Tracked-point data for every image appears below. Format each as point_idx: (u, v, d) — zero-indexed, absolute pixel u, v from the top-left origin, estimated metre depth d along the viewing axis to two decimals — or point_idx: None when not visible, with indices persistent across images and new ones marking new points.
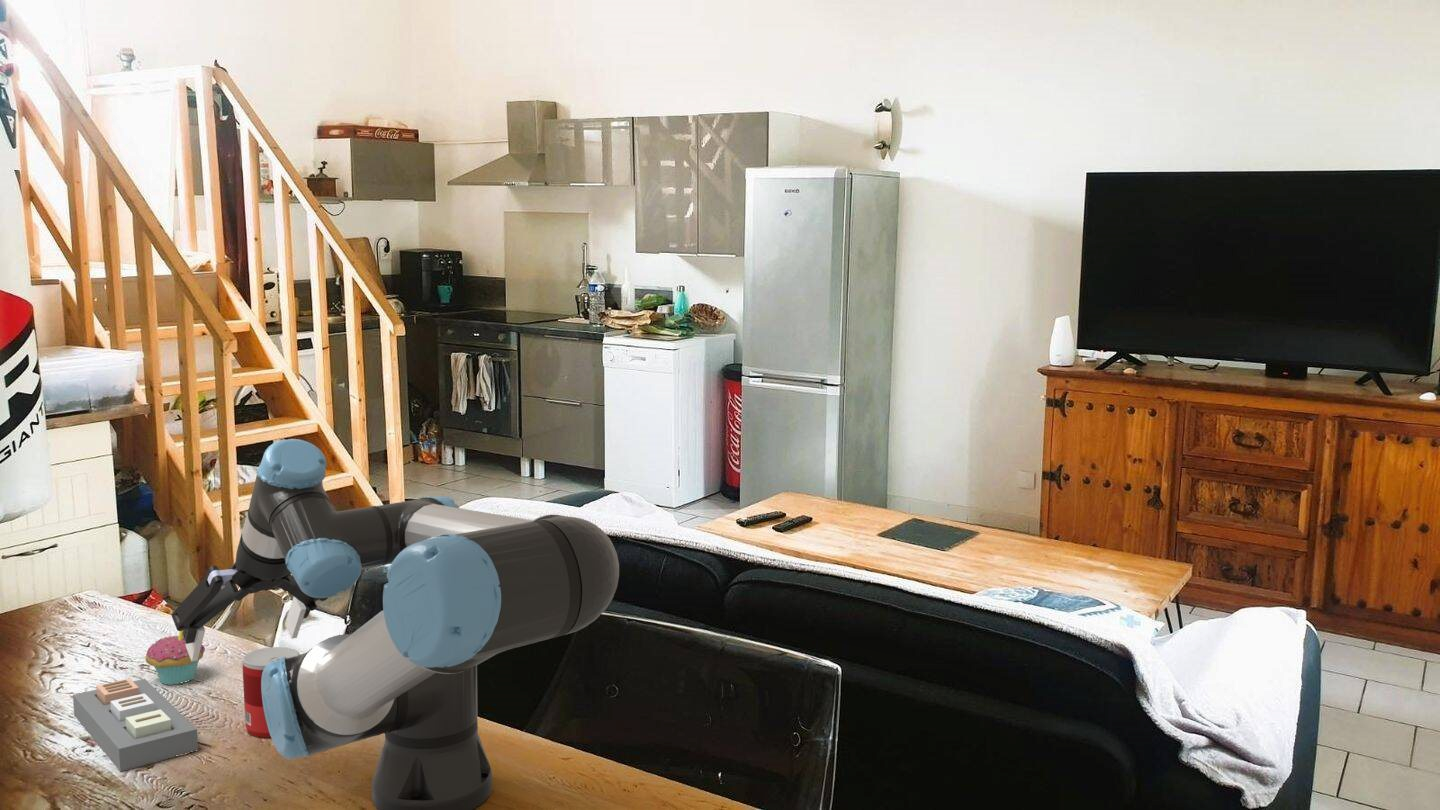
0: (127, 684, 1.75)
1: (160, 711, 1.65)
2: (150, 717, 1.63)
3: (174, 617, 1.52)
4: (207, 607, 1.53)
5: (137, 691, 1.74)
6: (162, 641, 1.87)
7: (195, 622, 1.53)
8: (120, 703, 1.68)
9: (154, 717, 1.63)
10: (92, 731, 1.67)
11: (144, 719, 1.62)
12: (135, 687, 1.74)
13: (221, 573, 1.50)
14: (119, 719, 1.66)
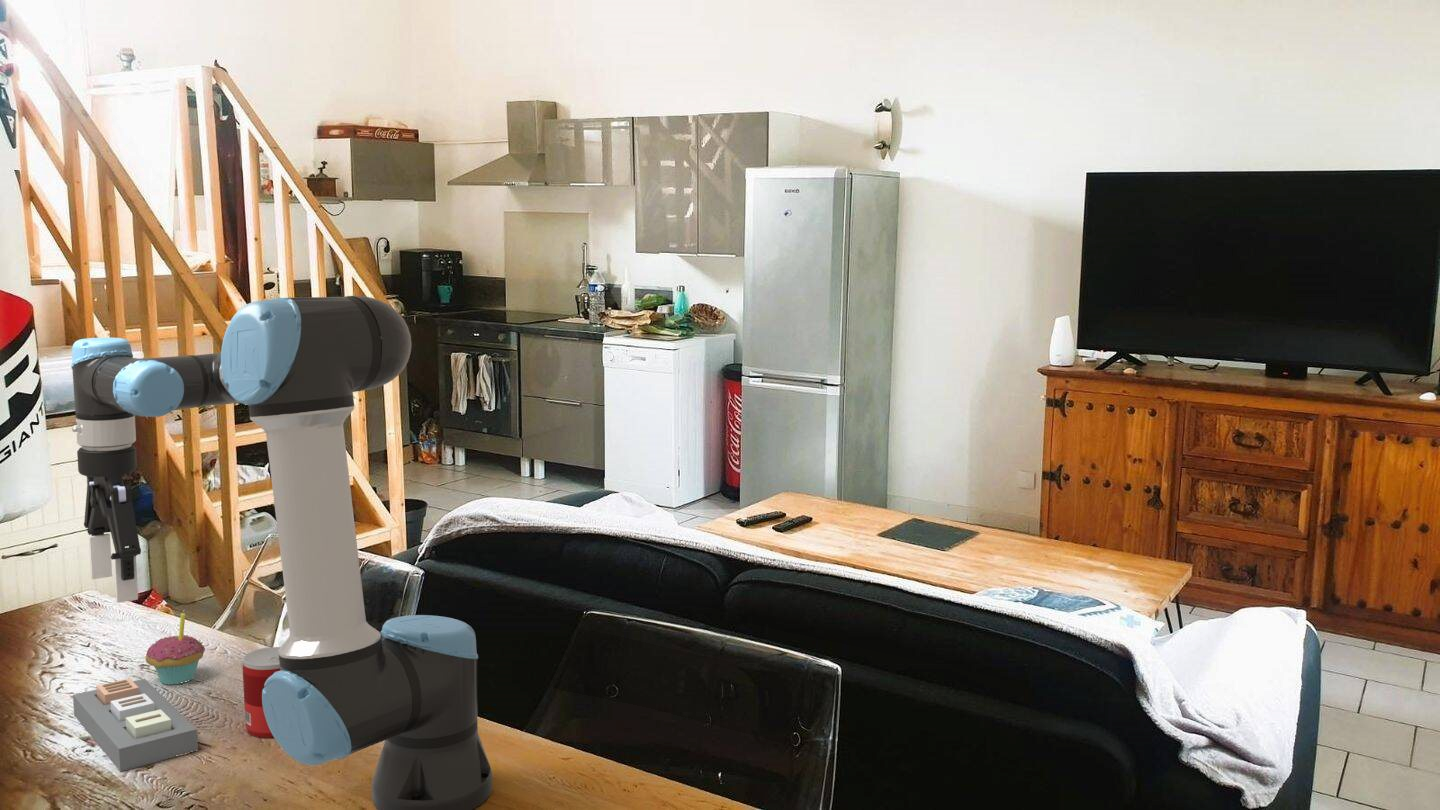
0: (127, 684, 1.75)
1: (160, 711, 1.65)
2: (150, 717, 1.63)
3: (127, 550, 1.63)
4: None
5: (137, 691, 1.74)
6: (162, 641, 1.87)
7: (133, 546, 1.66)
8: (120, 703, 1.68)
9: (154, 717, 1.63)
10: (92, 731, 1.67)
11: (144, 719, 1.62)
12: (135, 687, 1.74)
13: None
14: (119, 719, 1.66)
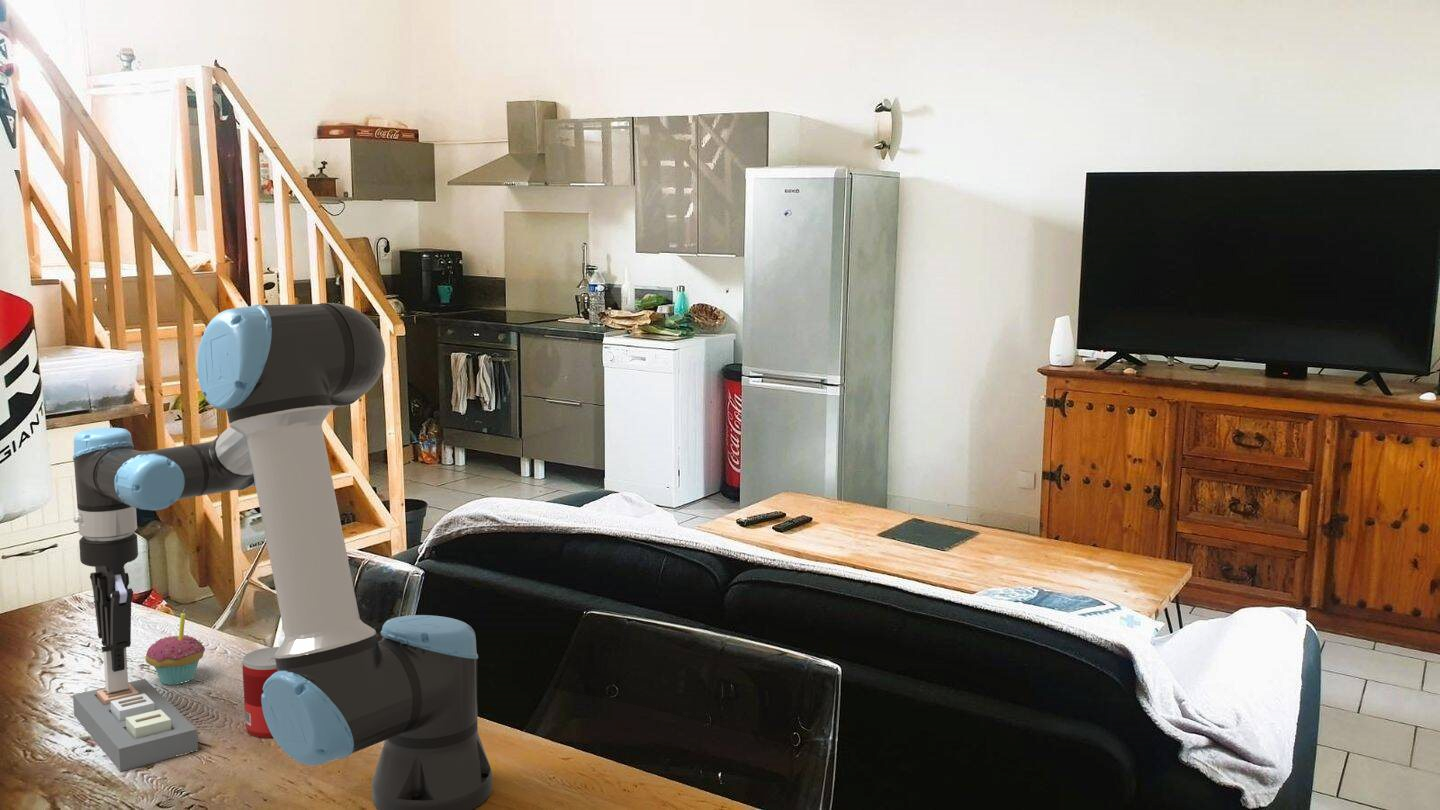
0: (127, 689, 1.75)
1: (160, 711, 1.65)
2: (150, 717, 1.63)
3: (117, 644, 1.70)
4: None
5: None
6: (162, 641, 1.87)
7: None
8: (120, 703, 1.68)
9: (154, 717, 1.63)
10: (92, 731, 1.67)
11: (144, 719, 1.62)
12: (135, 692, 1.74)
13: (123, 588, 1.68)
14: (119, 719, 1.66)
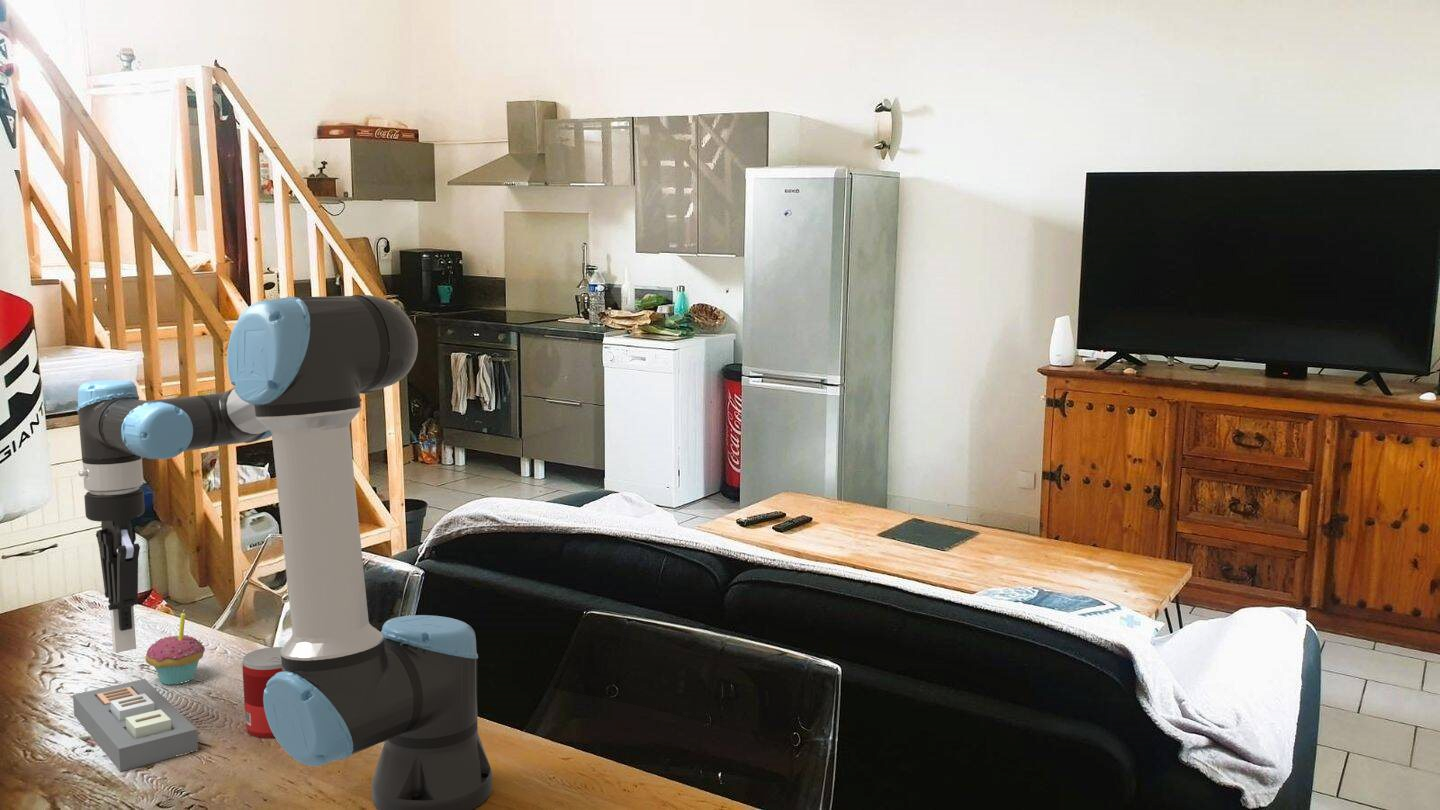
0: (128, 692, 1.75)
1: (160, 711, 1.65)
2: (150, 717, 1.63)
3: (124, 601, 1.66)
4: None
5: None
6: (162, 641, 1.87)
7: None
8: (120, 703, 1.68)
9: (154, 717, 1.63)
10: (92, 731, 1.67)
11: (144, 719, 1.62)
12: None
13: (129, 543, 1.63)
14: (119, 719, 1.66)
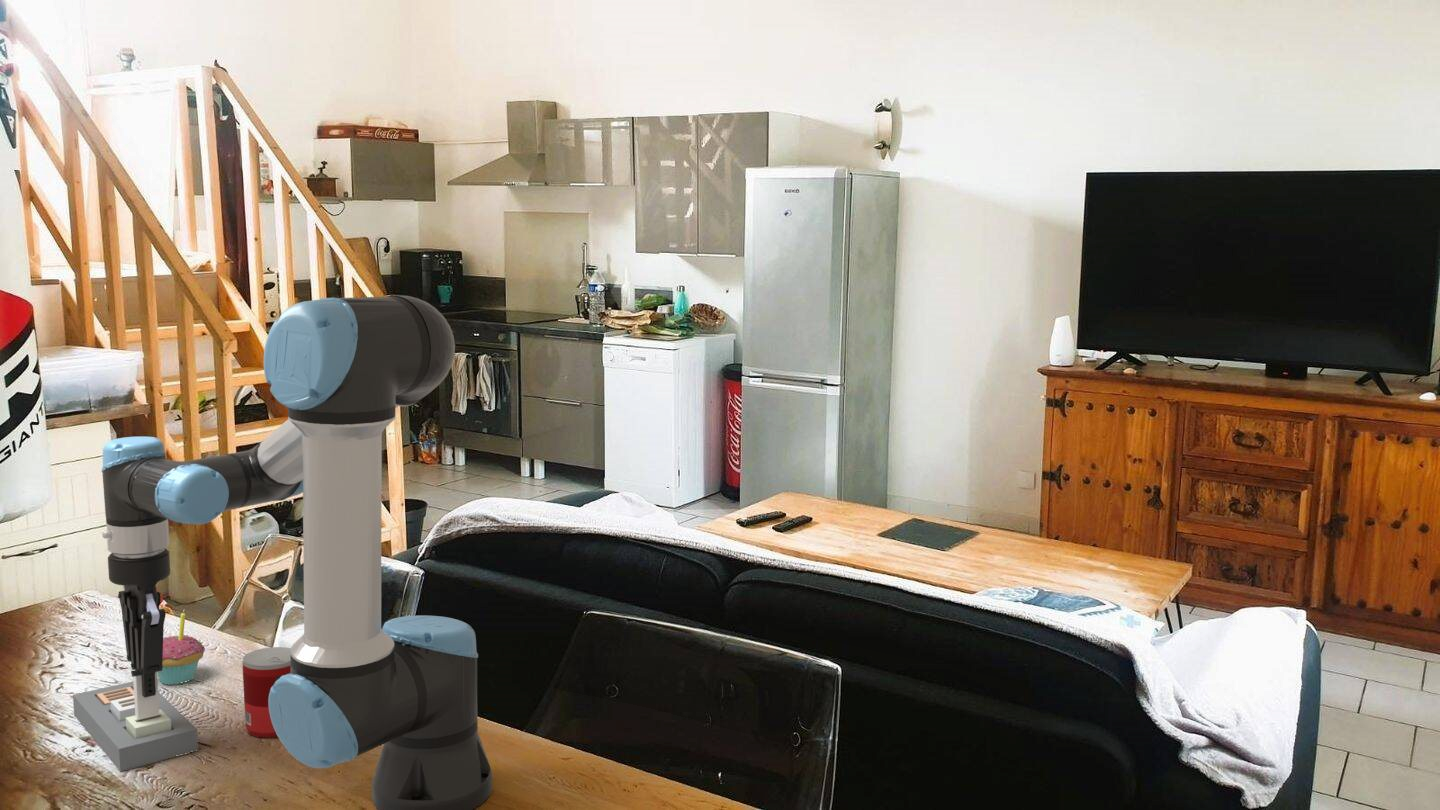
0: (128, 692, 1.75)
1: (160, 711, 1.65)
2: (150, 717, 1.63)
3: (149, 668, 1.59)
4: None
5: None
6: None
7: None
8: (120, 703, 1.68)
9: (154, 717, 1.63)
10: (92, 731, 1.67)
11: (144, 720, 1.62)
12: None
13: (155, 609, 1.56)
14: (119, 719, 1.66)
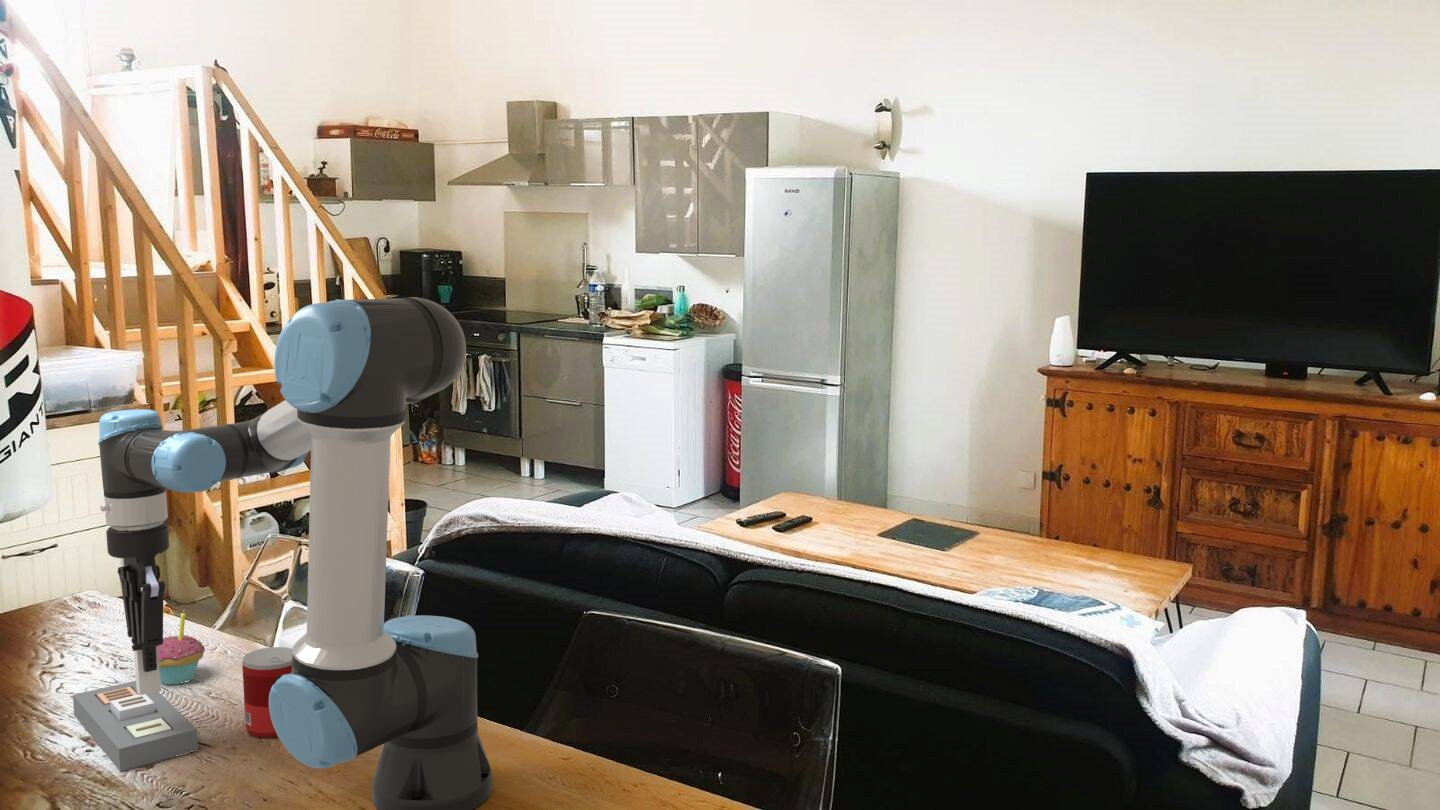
0: (128, 692, 1.75)
1: (160, 720, 1.65)
2: (151, 726, 1.63)
3: (149, 641, 1.58)
4: None
5: None
6: None
7: None
8: (120, 703, 1.68)
9: (155, 726, 1.63)
10: (92, 731, 1.67)
11: (145, 728, 1.63)
12: None
13: (154, 581, 1.56)
14: (119, 719, 1.66)
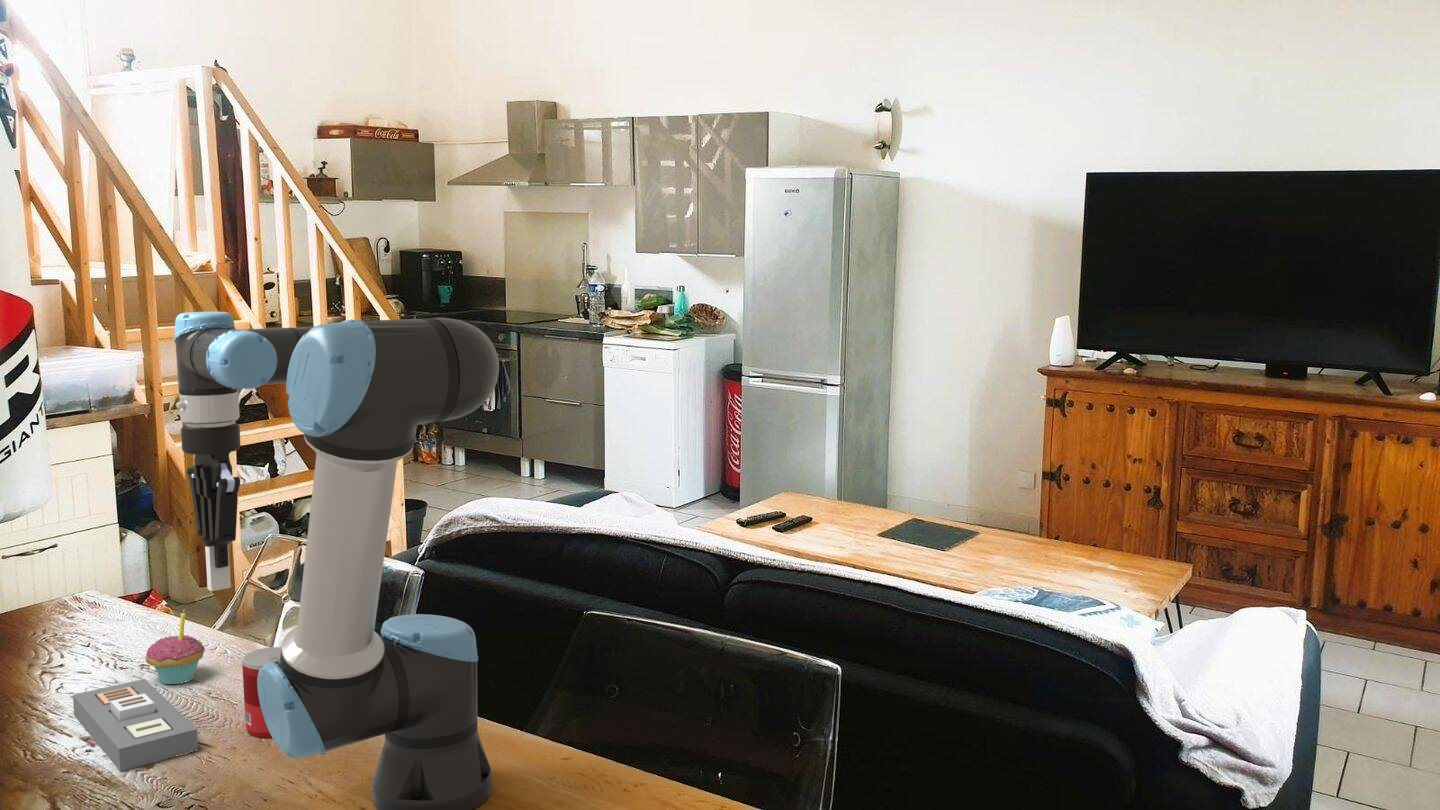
0: (128, 692, 1.75)
1: (160, 720, 1.65)
2: (151, 726, 1.63)
3: (223, 537, 1.62)
4: None
5: None
6: (162, 641, 1.87)
7: None
8: (120, 703, 1.68)
9: (155, 726, 1.63)
10: (92, 731, 1.67)
11: (145, 728, 1.63)
12: None
13: (230, 476, 1.60)
14: (119, 719, 1.66)
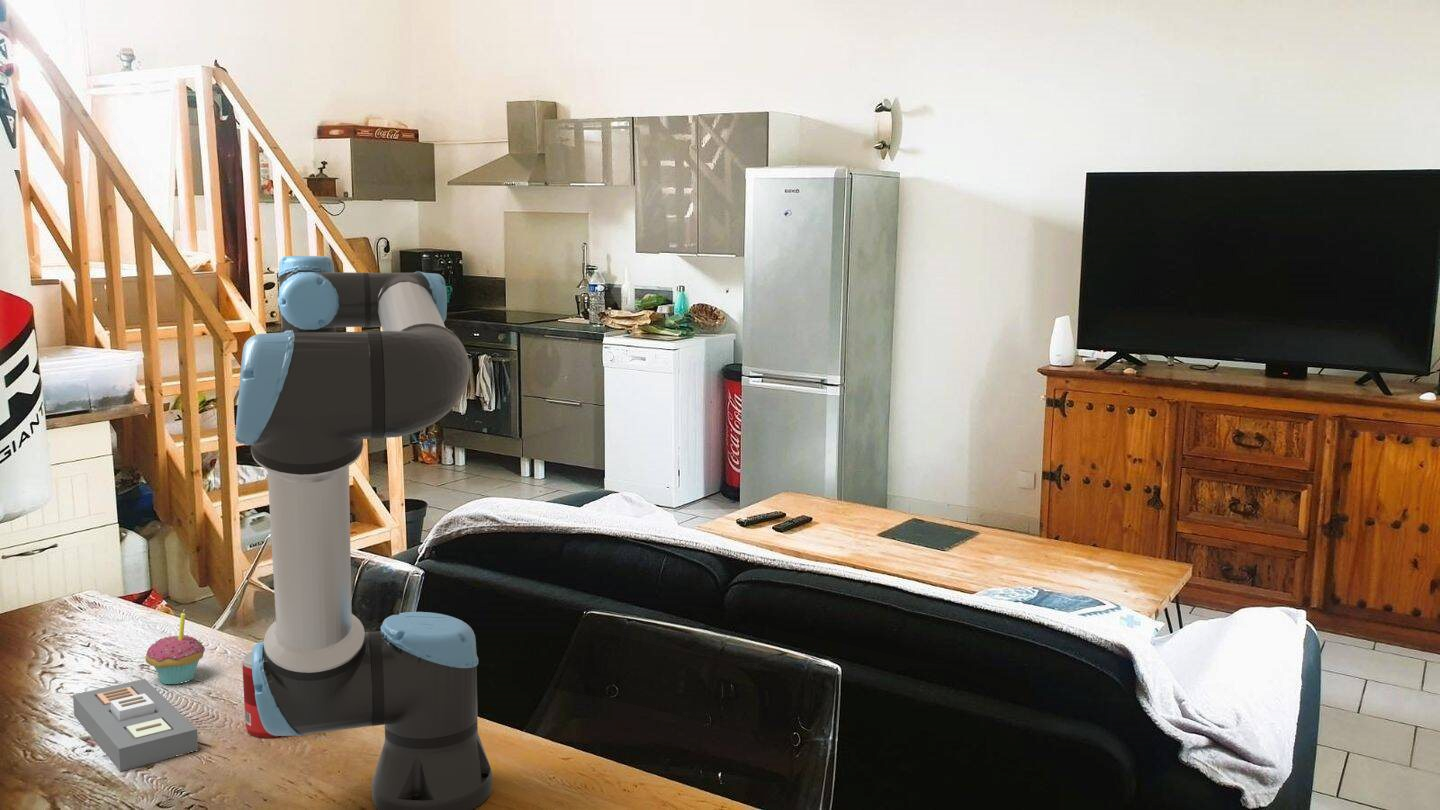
0: (128, 692, 1.75)
1: (160, 720, 1.65)
2: (151, 726, 1.63)
3: None
4: None
5: None
6: (162, 641, 1.87)
7: None
8: (120, 703, 1.68)
9: (155, 726, 1.63)
10: (92, 731, 1.67)
11: (145, 728, 1.63)
12: None
13: None
14: (119, 719, 1.66)
